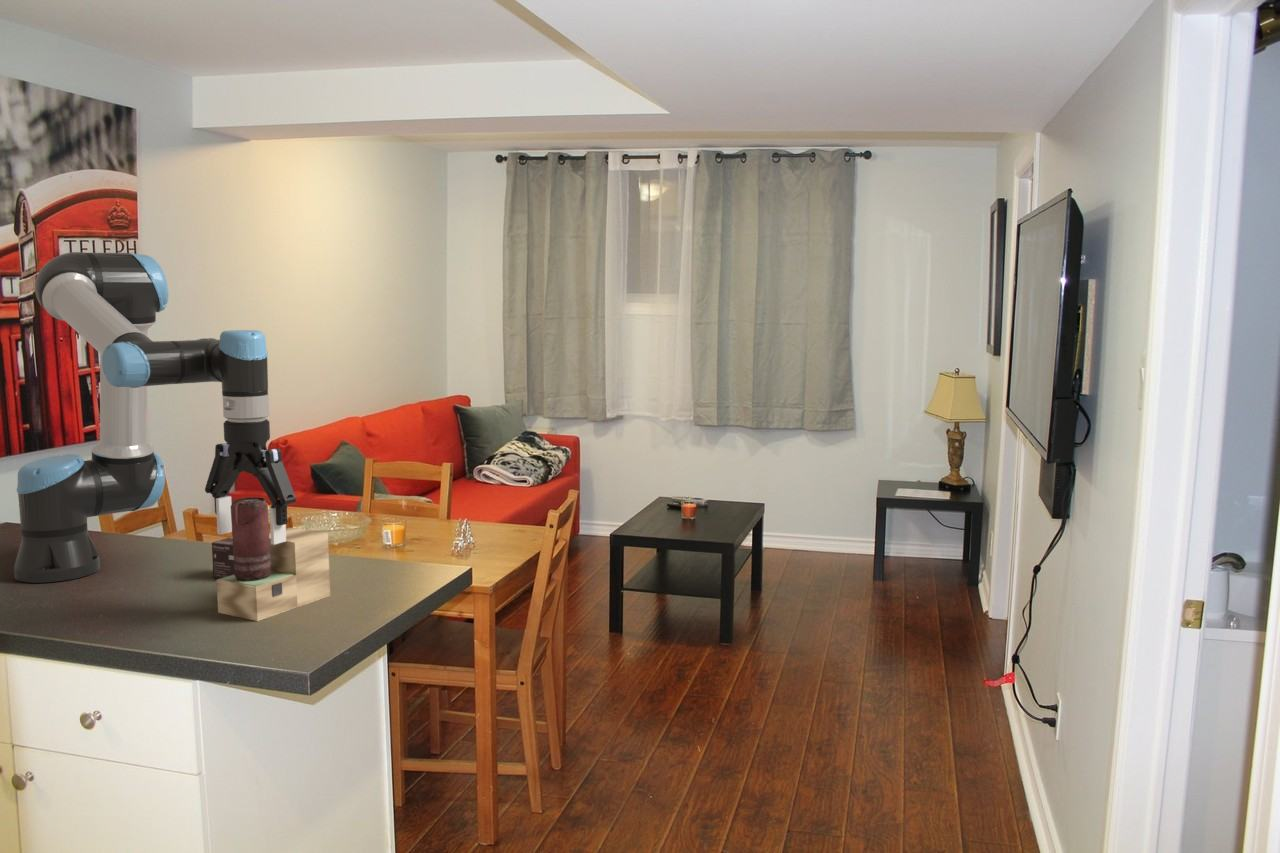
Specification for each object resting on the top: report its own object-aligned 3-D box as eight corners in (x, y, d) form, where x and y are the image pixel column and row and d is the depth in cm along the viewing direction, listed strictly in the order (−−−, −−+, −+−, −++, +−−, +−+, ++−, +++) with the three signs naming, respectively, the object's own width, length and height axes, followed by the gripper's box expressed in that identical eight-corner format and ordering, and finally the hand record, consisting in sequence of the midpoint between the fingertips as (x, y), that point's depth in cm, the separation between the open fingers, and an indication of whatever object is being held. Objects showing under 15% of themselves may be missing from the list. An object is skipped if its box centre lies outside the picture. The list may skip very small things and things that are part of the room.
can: (226, 581, 181) (222, 502, 179) (247, 571, 187) (243, 495, 185) (258, 582, 180) (253, 504, 178) (277, 572, 186) (273, 496, 184)
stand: (218, 612, 183) (214, 546, 182) (292, 588, 198) (289, 527, 196) (258, 621, 178) (255, 553, 177) (331, 596, 193) (328, 533, 192)
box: (212, 578, 205) (210, 542, 204) (234, 570, 211) (232, 535, 210) (236, 581, 203) (234, 545, 202) (258, 574, 209) (256, 538, 208)
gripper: (180, 416, 182) (186, 533, 185) (280, 427, 171) (285, 551, 174) (215, 411, 189) (221, 524, 192) (314, 422, 177) (318, 542, 180)
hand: (251, 538), depth 183 cm, fingers open, 13 cm apart
